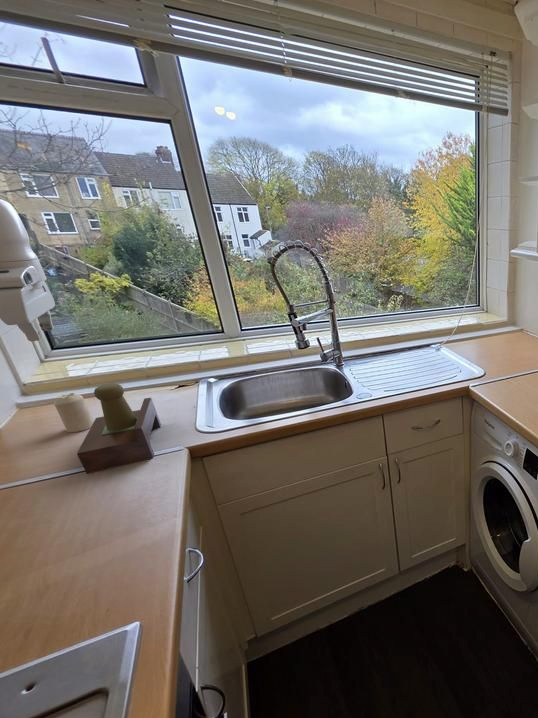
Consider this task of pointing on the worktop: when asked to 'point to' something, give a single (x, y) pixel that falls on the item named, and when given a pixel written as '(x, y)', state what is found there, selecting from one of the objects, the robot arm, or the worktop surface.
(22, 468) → the worktop surface
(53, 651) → the worktop surface
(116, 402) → the cork
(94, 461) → the brown block
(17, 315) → the robot arm
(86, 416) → the candle
